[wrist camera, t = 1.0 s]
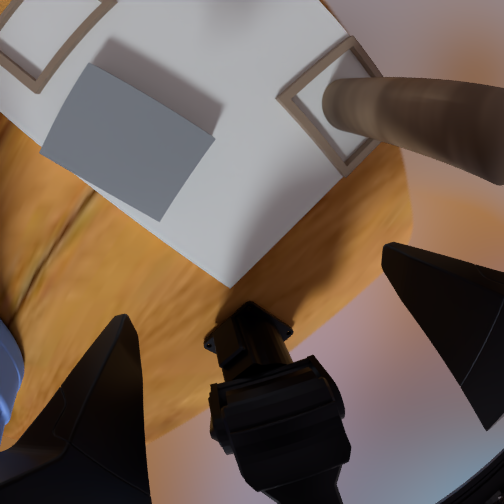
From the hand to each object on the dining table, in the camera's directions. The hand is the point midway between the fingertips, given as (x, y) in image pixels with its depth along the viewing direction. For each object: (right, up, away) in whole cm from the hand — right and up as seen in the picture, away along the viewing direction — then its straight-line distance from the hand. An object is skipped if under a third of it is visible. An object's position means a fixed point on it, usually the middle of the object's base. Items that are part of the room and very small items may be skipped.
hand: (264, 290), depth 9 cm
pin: (+6, +12, +9) cm, 16 cm away
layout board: (-5, +13, +6) cm, 16 cm away
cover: (-8, +8, +7) cm, 14 cm away
